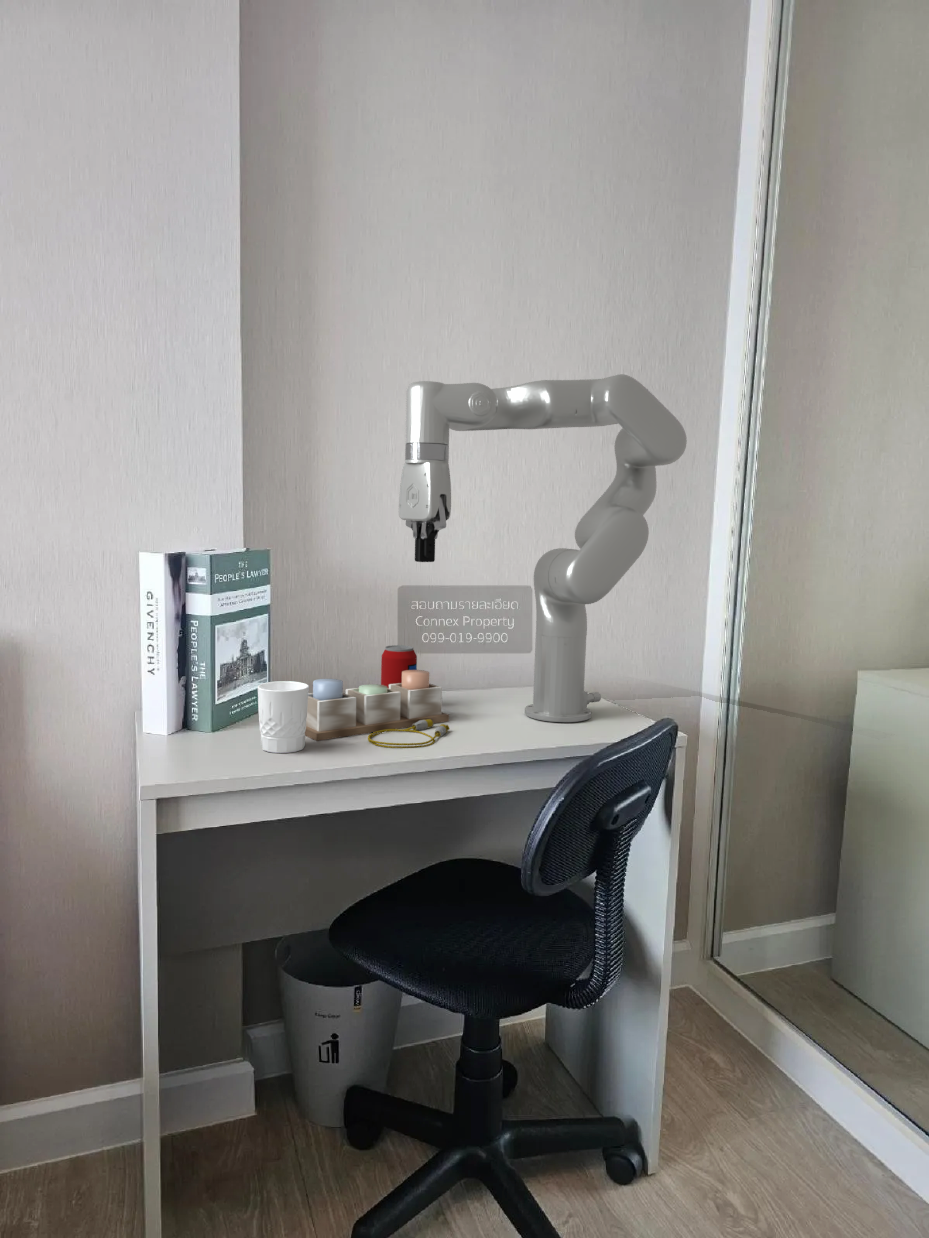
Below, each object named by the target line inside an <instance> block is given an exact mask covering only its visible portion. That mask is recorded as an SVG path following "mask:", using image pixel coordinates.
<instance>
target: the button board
mask: <svg viewBox="0 0 929 1238" xmlns="http://www.w3.org/2000/svg"><path fill="white" fill-rule="evenodd" d="M442 703H443V687H442V686H439V685H435V684H432V683H429V688H424V689H416V690H410V689H406V688H403V687H402V683H397V684H389V688H387V693H382V694H374V695H366V694H363V693H360V692H359V687H352V688H345V693H344V692H343V698H340V699H331V700H323V701H321V700H318V699H315V698H313V692H308V709H307V720H306V731H305V737H307V738H310V739H311V740H314V741H316V742H317V741H318V742H319V741H325V740H326V741H327V740H331V739H339V738H344V737H345V738H346V737H351V736H358V735H363V734H371V732H376V731H380V730H386V729H407V728H410V727H412V725H413V724H414V723H416V722H418V721H419V720H427V719H431V720H432V722H433V724H439V723H446V722H449V721H450V714H448V713H446V712H442V708H443V707H442V705H443V704H442Z"/></svg>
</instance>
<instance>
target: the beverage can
mask: <svg viewBox="0 0 929 1238" xmlns="http://www.w3.org/2000/svg"><path fill="white" fill-rule="evenodd" d="M380 661H381V667H380V685H384V686H387V688H389V684H397V683H402V671H405V670H418V669H417V667H418V663H417V662H418V655H417V653H416V652H415V649H414V646H410V645H402V644H401V645H399V644H397V645H395V644H394V645H393V644H392V645H387V646H385V648H384V651H383V652H382V654H381V660H380Z"/></svg>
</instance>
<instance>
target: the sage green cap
mask: <svg viewBox="0 0 929 1238" xmlns="http://www.w3.org/2000/svg"><path fill="white" fill-rule="evenodd" d="M358 688H359V692H360V693H363V694H366V695H374V694H382V693H387V686H384V685H381V684H378V683H377V684H375V683H374V684H373V683H372V684H371V683H370V684H360V685H359V686H358Z"/></svg>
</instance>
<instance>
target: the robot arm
mask: <svg viewBox="0 0 929 1238" xmlns="http://www.w3.org/2000/svg"><path fill="white" fill-rule="evenodd" d="M405 399H406V401H405V402H406V403H405V404H406V405H405V406H406V408H405V409H406V410H405V411H406V412H405V449H404V451H405V452H404V453H405V455H404V456H405V459H404V464H403V466H402V470H401V471H402V472H401V476H400V484H399V493H398V494H399V495H398V496H399V497H398V517H399V518H400V520H402V521H405V527H407V528H409V529H411V530H412V536H413V537H412V538H413V539H414V562H418V563H433V562H435V561H436V560H435V559H436V540H437V539H438V534H439V532H440V530H444V529H446V528H447V521H448V520H449V519H450V518H451V514H452V512H451V511H452V482H451V480H452V479H451V473H450V472H451V471H450V465H449V463H450V462H449V461H450V460H449V458H450V456H449V454H450V430H452V431H455V432H469V431H470V432H473V431H476V432H477V431H495V430H496V431H497V430H541V429H542V430H543V429H547V430H548V429H562V428H565V429H566V428H593V427H595V428H596V427H597V428H598V427H606V426H611V425H617V424H618V425H619V426H620V427H621V429H620V430H619V432H618V433H617V435H616V437H615V440H614V456H615V461H616V471H615V476H614V478H613V480H612V482H611V483H610V485H609V486H608V487H607V489H606V490H605V491H604V493H603V494H602V495H601V496H600V497H599V498H598V499H597V500H596V501H595V502H594V504H593V505H592V506H591V507H590V508H589V509H588V511H586V512H585V514H584V515H583V516H582V517H581V518H580V520H579V521H578V522H577V524H576V528H575V531H574V539H575V543H576V545H577V547H579V549H575V548H574V549H573V548H567V547H566V548H564V547H562V548H560V547H559V548H554V549H550V550H548V551H546V552H545V553H544V554H543V555H542V556H540V558H539V559H538V560H537V562H536V564H535V567H534V570H533V571H534V572H533V587H534V597H535V610H536V612H535V614H536V615H535V616H536V617H535V618H536V620H535V625H536V626H535V643H534V644H535V647H534V669H533V670H534V671H533V673H534V674H533V695H532V703H531V704H528V705H526V706H525V707H524V715H526V717H528V718H531V719H533V720H534V719H535V720H538V721H544V722H550V723H577V722H578V723H579V722H584V721H587V720H589V719H591V717H592V710H591V709H590V708H589V707H588V705H589V704H590V703H598V702H600V701H601V700H602V697H601V693H600V692H599V691H593V692H589V693H588V691H586V690H585V677H586V676H585V675H586V674H585V673H586V655H587V652H586V651H587V635H588V616H587V609H586V605H591V604H595V603H597V602H599V601H601V600H602V599H603V598H604V597H606V596H607V595H608V594H609V593H610V592H611V591H612V589H614V587H615V586H616V585H617V584H618V583H619V582H620V580H621V579H622V578H623V577H624V576H625V575H626V573H627V572H628V571H629V570H630V568H631V567H633V565H634V564H635V563H636V562H637V561H638V560H639V558H640V556H641V555H642V554H643V553H644V550H645V548H646V546H647V543H648V541H649V534H650V532H649V524H648V522H647V521H648V520H646V518H645V516H644V515H645V514H646V513H647V511H648V510H649V508H650V507H651V506H652V503H653V502H654V500H655V498H656V494H657V469H656V467H658V466H659V467H660V466H666V465H671V464H673V463H675V462H677V461H678V460H679V459H680V458H681V457H682V456H683V455H684V453H685V450H686V448H687V443H688V442H687V441H688V439H687V434H686V431H685V429H684V427H683V425H682V423H681V422H680V420H678V419H677V417H676V416H675V415H674V414H673V413H672V412H671V411H670V410H669V409H668V408H667V407H666V406H665V405H664V404H663V403H662V402H661V401H660V400H659V399H658V398H657V397H656V396H655V395H654V394H653V393H652V392H651V391H650V390H649V389H648V388H647V387H646V386H644V384H642V383H641V382H640V381H638V380H637V379H636V378H634V377H633V376H630V375H627V374H615V375H611V376H608V377H604V378H596V379H594V378H591V379H543V380H535V381H530V382H525V383H521V384H517V385H513V386H507V387H498V388H496V387H494V388H490V387H489V386H488V385H485V384H484V383H483V384H482V383H479V382H466V383H464V382H463V383H444V382H440V381H433V380H432V381H431V380H419V381H415V382H414V381H413V382H412V383H410V384H409V385H408V386H407V388H406V398H405Z"/></svg>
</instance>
